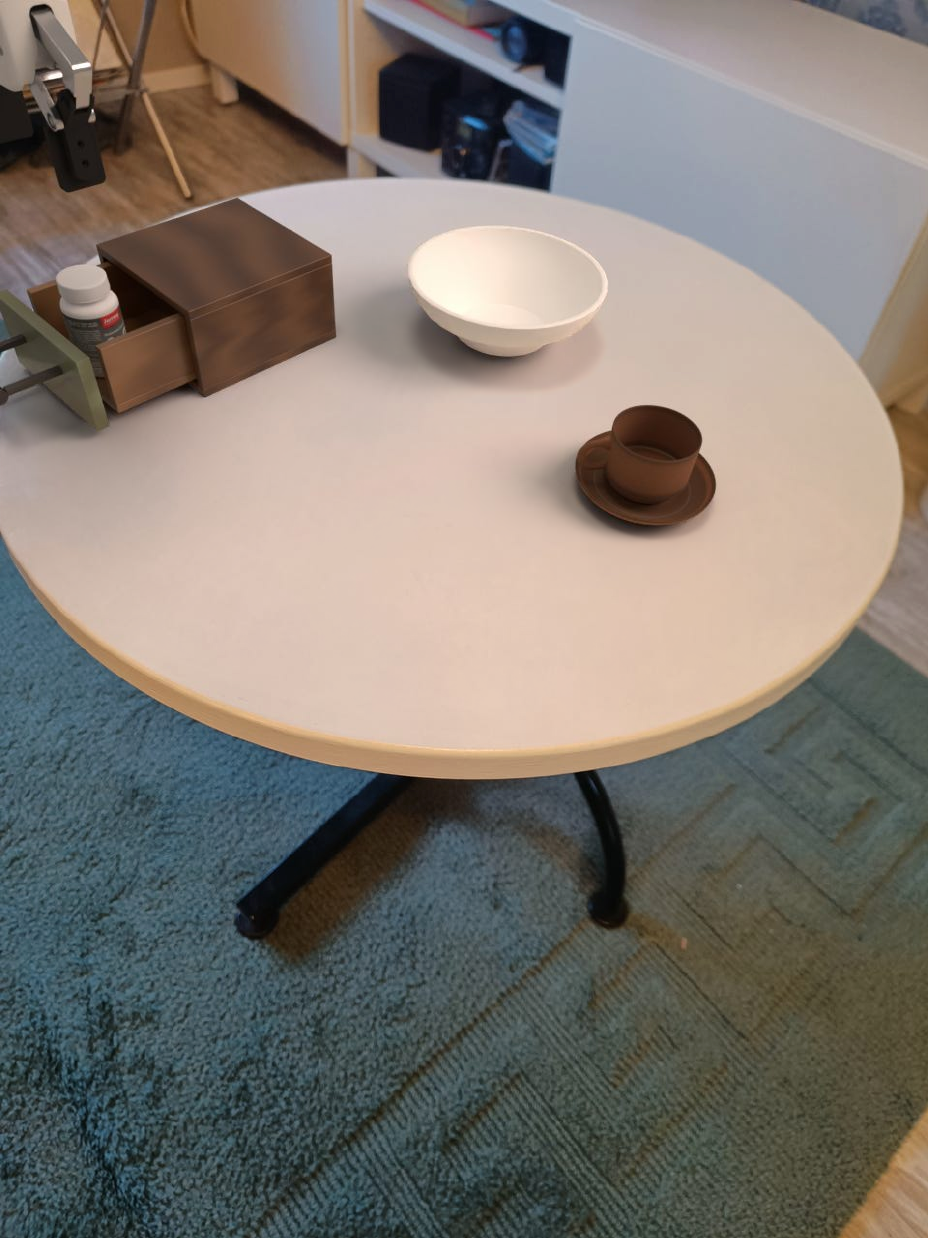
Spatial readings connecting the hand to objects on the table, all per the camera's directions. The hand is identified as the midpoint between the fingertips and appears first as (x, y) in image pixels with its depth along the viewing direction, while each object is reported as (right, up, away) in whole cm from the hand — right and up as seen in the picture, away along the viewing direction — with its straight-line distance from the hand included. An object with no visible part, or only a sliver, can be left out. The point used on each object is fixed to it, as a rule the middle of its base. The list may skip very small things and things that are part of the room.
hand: (47, 161), depth 61 cm
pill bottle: (-3, -9, +17) cm, 20 cm away
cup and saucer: (+45, -21, +14) cm, 52 cm away
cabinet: (+6, -4, +25) cm, 26 cm away
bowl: (+33, -3, +28) cm, 44 cm away
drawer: (-4, -11, +17) cm, 21 cm away
